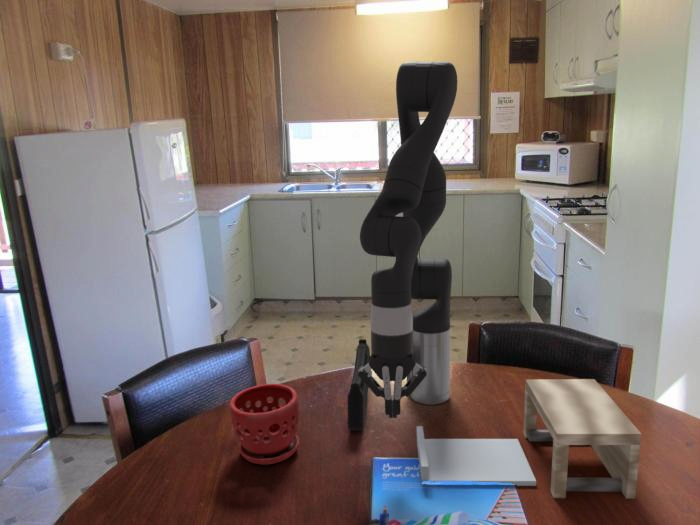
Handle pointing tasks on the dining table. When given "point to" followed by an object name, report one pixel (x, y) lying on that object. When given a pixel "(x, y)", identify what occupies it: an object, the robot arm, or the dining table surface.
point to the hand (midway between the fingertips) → (392, 415)
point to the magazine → (358, 390)
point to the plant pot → (266, 423)
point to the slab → (473, 460)
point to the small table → (583, 433)
